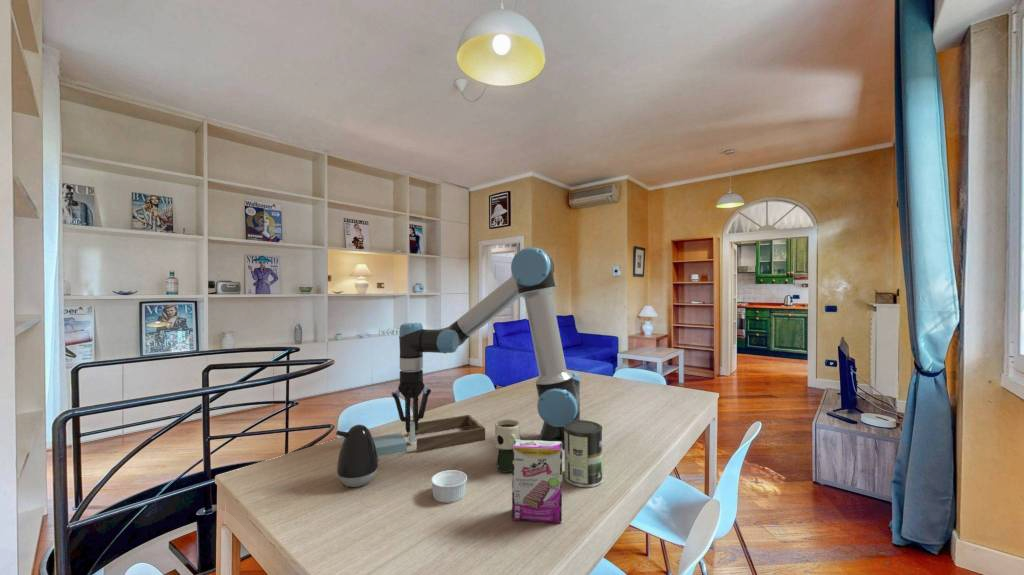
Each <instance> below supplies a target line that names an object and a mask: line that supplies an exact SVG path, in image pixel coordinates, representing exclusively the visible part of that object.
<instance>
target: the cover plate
mask: <svg viewBox="0 0 1024 575" xmlns="http://www.w3.org/2000/svg"><path fill="white" fill-rule="evenodd" d="M372 437H373V436H372ZM373 440H374V443H375V446H376V450H377V456H378V457H382V456H387V455H392V454H397V453H402V452H407V451H408V448H407V447H408V443H407V441H406V439H405V438H404V435H403V434H402V432H397V433H390V434H384V435H380V436H374V437H373Z"/></svg>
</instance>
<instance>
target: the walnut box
mask: <svg viewBox="0 0 1024 575" xmlns="http://www.w3.org/2000/svg"><path fill="white" fill-rule="evenodd" d="M467 426H468V427H469V428H470V429H469V428H468V427H467ZM461 427H463V428H468V429H466V430H461V431H456V432H448V433H442V434H438V435H437V434H436V435H432V436H431V435H430V436H425V437H420V438H416V452H417V453H422V452H429V451H433V450H438V449H444V448H449V447H455V446H460V445H465V444H466V445H467V444H470V443H477V442H482V441H486V427H485V426H483V425H482V424H480V423H479V422H478V420H476V419H475V418H474V417H472V416H471V415H470V414H466V415H460V416H451V417H447V418H440V419H433V420H425V421H420V422H419V421H418V430H417V431H415V436H419V435H418V434H421V435H426V434H425V433H427V434H432V432H433V433H439V432H444V430H445V431H451V430H456V429H455V428H457V429H462V428H461ZM450 429H451V430H450ZM438 431H439V432H438ZM406 433H407V437H408V436H409V432H407V431H406Z"/></svg>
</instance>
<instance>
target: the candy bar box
mask: <svg viewBox="0 0 1024 575" xmlns="http://www.w3.org/2000/svg"><path fill="white" fill-rule="evenodd" d="M512 469H513V470H512V471H511V472H512V478H511V480H512V481H511V485H512V486H511V488H512V489H511V491H512V492H511V495H512V496H511V501H512V502H511V506H512V507H511V520H513V521H526V522H538V521H541V522H542V523H543V522H544V523H554V522H558V523H557V524H559V523H560V522H561V523H563V522H562V517H563V514H562V513H563V448H562V442H560V441H541V440H538V439H537V440H535V439H534V440H533V439H520V440H518V439H515V441H514V445H513V466H512ZM561 523H560V524H561Z"/></svg>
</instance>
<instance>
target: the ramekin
mask: <svg viewBox="0 0 1024 575" xmlns="http://www.w3.org/2000/svg"><path fill="white" fill-rule="evenodd" d="M467 481H468V475H467V474H466V473H465V472H463V471H461V470H455V469H450V470H448V469H447V470H443V471H439V472H437V473H435V474H434V475H433V476H431V480H430V482H431V486H432V495H433V496H432V497H433V499H434V500H435V501H436V502H439V503H445V504H448V503H455V502H458V501H460V500H462V499H463V498H464V496H465V494H466V491H467V490H466V488H467Z"/></svg>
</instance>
